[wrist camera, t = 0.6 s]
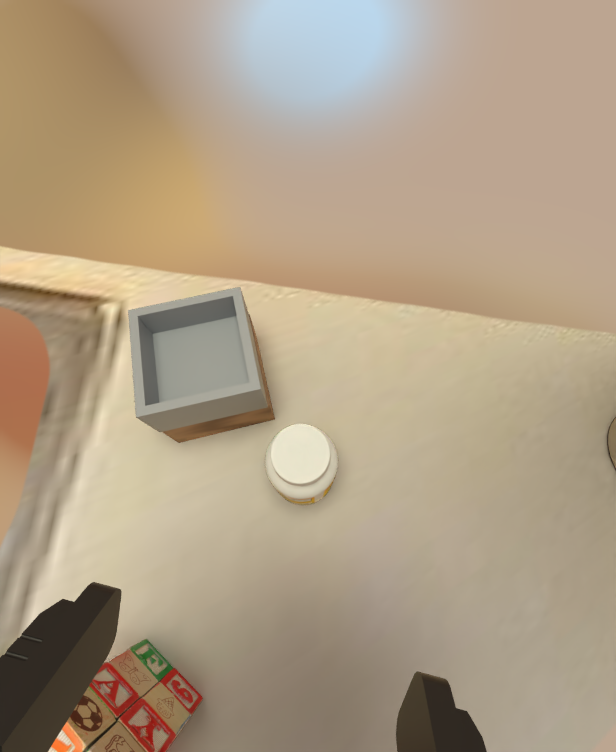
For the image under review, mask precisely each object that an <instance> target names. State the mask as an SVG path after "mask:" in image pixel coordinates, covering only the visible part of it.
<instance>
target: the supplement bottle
mask: <svg viewBox="0 0 616 752" xmlns="http://www.w3.org/2000/svg"><path fill="white" fill-rule="evenodd" d="M265 468H266V473H267V476H268V478H269V480H270V482H271V483H272V485H273V486H274V487H275V489H276V490H277V491H278V492H279V493H280V495H281V496H282V497H283V498H285V499H286V500H287V501H289V502H291V503H294V504H298V505H309V504H313V503H315V502H317V501H319V500H321V499H322V498H323V497H324V496H325V495H326V494H327V493H328V491H329V490H330V488H331V486H332V483H333V480H334V479H335V476H336V473H337V468H338V455H337V451H336V448H335V445H334V443H333V442H332V440H331V439H330V437H329V436H328V435H327V434H326V433H324V432H323V431H322V430H320V429H318V428H316V427H314V426H311V425H308V424H293V425H290V426H288V427H286V428H284V429H283V430H282V431H280V432H279V433H278V434H277V435H276V436H275V437H274V438H273V439H272V441H271V442H270V444H269V446H268V448H267V451H266V456H265Z"/></svg>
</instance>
